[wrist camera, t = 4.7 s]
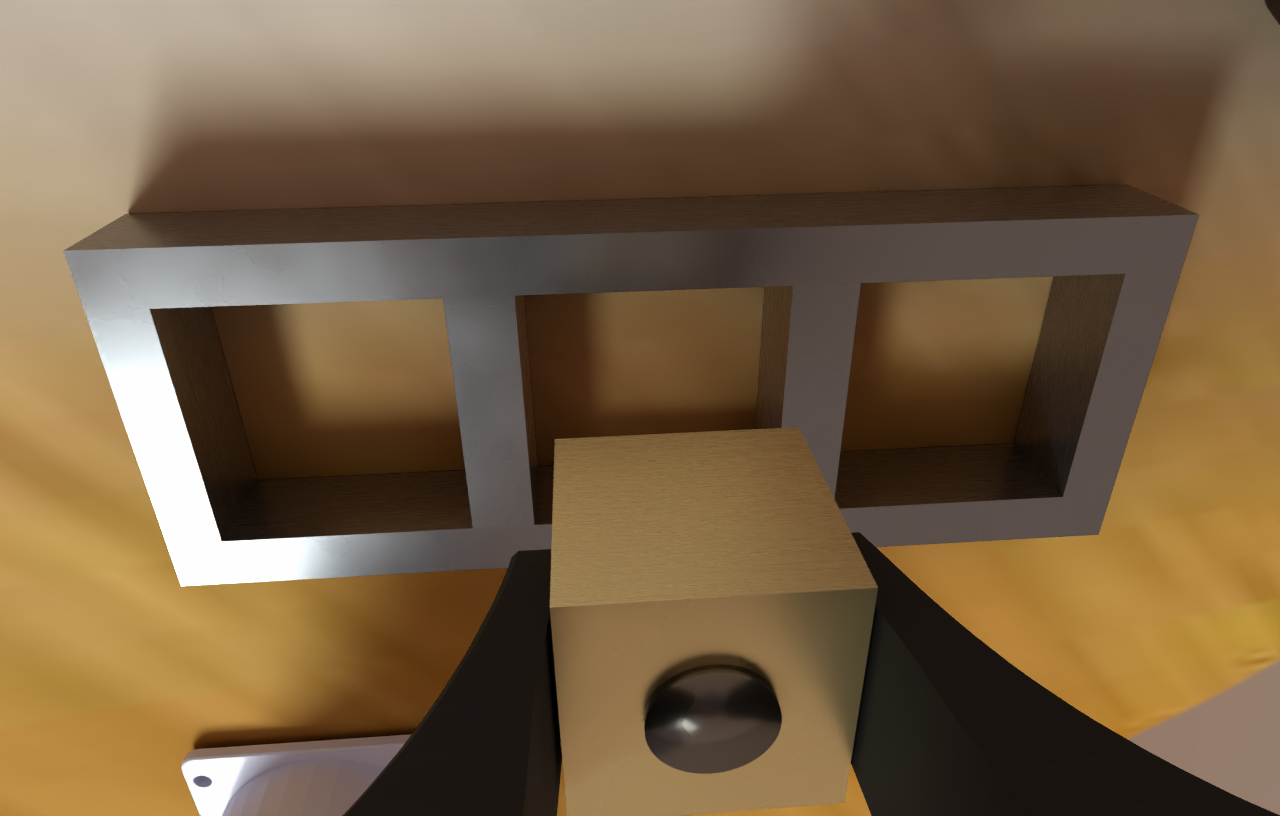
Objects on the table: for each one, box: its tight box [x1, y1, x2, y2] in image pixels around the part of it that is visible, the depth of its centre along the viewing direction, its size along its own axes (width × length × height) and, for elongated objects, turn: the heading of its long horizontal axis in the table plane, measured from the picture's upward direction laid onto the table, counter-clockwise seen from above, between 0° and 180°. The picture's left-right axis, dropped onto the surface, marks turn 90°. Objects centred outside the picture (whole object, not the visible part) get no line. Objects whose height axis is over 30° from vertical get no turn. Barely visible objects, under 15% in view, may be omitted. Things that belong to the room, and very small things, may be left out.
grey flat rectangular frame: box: [64, 185, 1199, 586], centre depth 19 cm, size 8×22×2 cm, turn 90°
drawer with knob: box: [550, 427, 878, 816], centre depth 13 cm, size 4×4×4 cm
